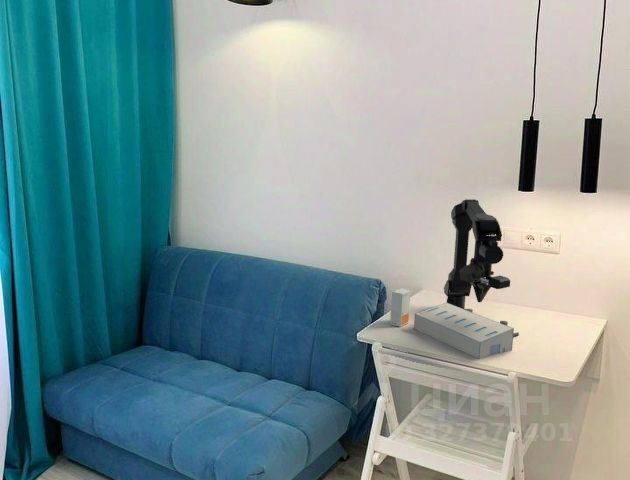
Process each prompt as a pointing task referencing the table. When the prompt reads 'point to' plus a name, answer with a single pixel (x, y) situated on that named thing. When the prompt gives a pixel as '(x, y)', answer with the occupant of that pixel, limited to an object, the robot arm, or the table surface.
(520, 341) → the table surface
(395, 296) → the skincare box
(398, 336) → the table surface
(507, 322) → the cord posts
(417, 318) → the grey slotted box
